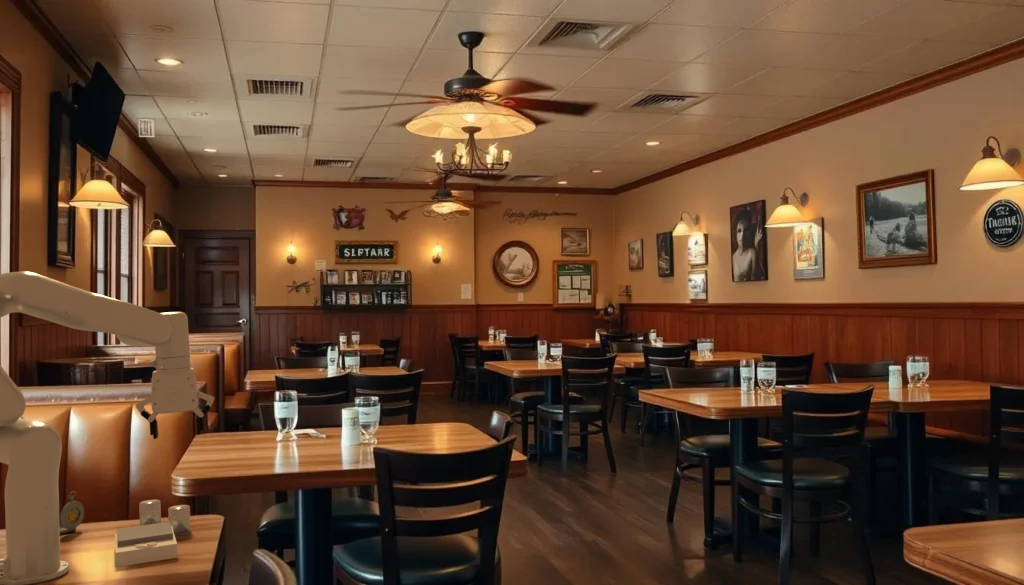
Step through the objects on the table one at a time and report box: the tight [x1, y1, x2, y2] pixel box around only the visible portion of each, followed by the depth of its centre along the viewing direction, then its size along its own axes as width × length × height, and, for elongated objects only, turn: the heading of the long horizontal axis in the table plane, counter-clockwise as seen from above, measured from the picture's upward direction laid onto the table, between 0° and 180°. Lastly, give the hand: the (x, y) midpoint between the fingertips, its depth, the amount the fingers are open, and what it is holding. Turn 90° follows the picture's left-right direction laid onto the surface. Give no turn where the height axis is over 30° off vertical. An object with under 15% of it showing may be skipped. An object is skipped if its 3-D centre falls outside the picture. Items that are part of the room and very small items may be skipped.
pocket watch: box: [59, 490, 85, 535], centre depth 198 cm, size 8×8×10 cm
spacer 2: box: [167, 504, 191, 536], centre depth 195 cm, size 5×5×6 cm
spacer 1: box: [138, 499, 162, 526], centre depth 201 cm, size 5×5×6 cm
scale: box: [114, 521, 178, 568], centre depth 180 cm, size 12×16×4 cm
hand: (177, 435), depth 192 cm, fingers open, 9 cm apart
